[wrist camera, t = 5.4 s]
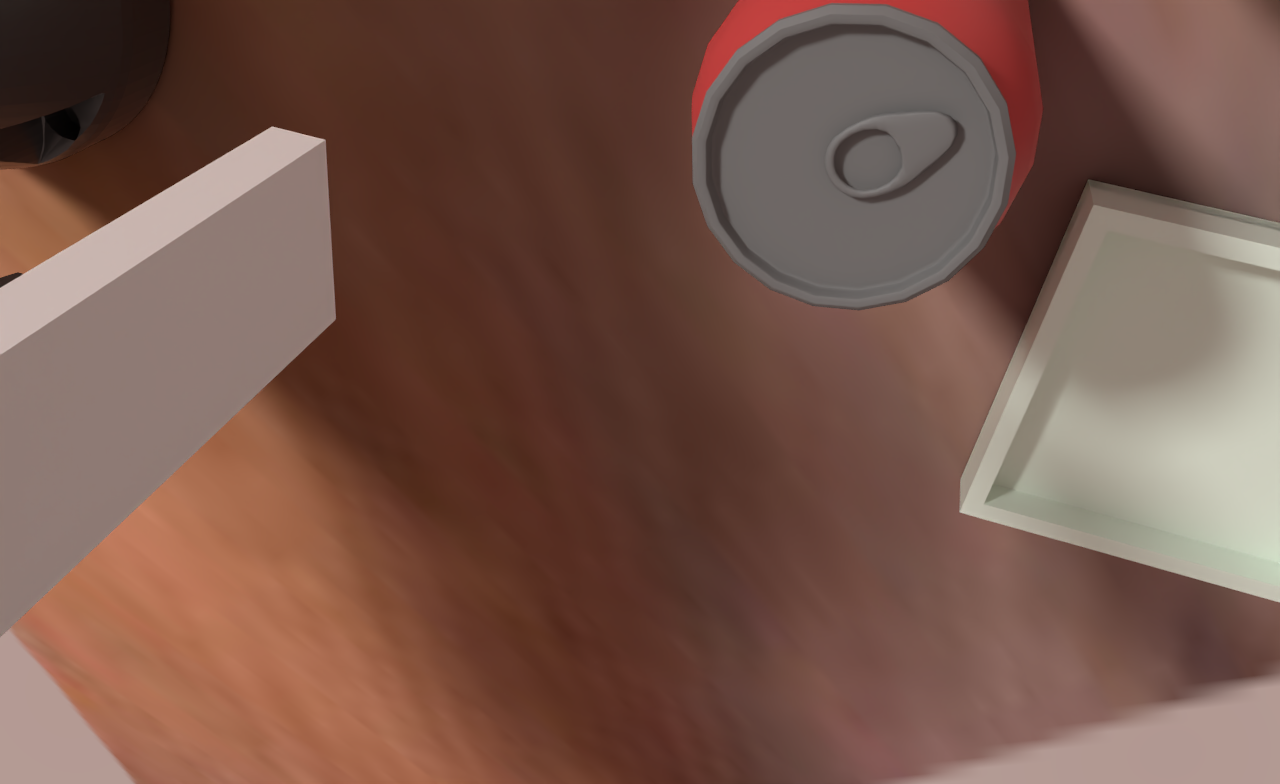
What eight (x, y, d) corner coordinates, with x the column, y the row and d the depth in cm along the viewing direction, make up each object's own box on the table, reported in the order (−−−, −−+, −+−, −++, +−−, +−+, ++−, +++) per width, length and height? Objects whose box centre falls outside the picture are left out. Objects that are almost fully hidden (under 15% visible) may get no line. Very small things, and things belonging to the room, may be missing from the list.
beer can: (1061, 66, 27) (1101, 268, 17) (830, 161, 30) (758, 377, 20) (973, -185, 24) (965, -111, 15) (732, -53, 27) (597, 79, 18)
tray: (960, 478, 35) (959, 512, 33) (1088, 179, 28) (1093, 204, 27) (1302, 573, 33) (1316, 612, 32) (1522, 278, 26) (1553, 311, 25)
